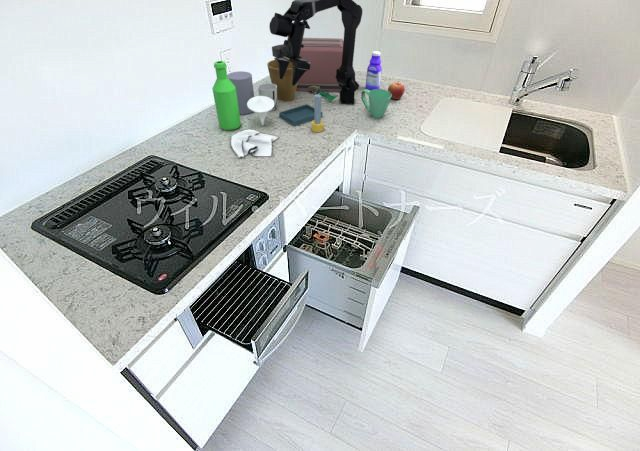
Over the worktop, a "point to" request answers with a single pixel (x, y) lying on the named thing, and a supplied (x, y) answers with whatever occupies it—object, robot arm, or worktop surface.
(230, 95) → the bottle
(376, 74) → the bottle
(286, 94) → the plant pot
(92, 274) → the worktop surface
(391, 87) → the apple
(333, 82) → the toaster
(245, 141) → the cloth
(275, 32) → the robot arm
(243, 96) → the container
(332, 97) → the green spatula
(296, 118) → the tray
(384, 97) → the mug
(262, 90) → the cup
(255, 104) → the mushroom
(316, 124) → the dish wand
